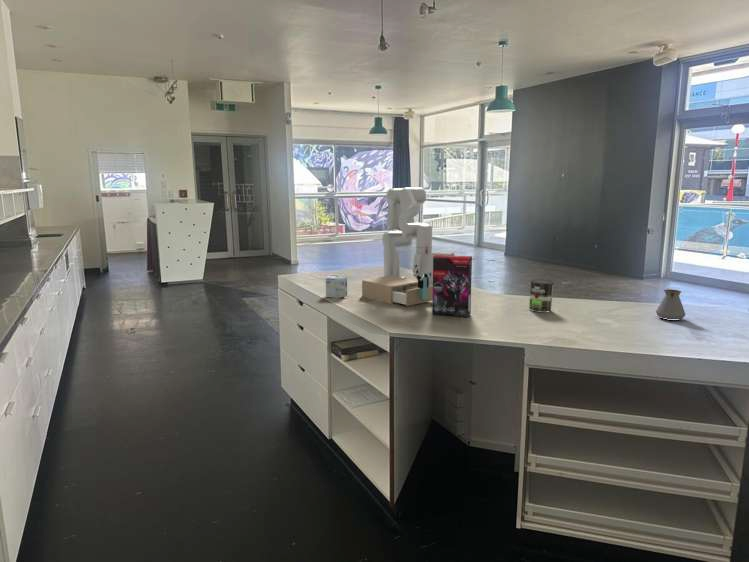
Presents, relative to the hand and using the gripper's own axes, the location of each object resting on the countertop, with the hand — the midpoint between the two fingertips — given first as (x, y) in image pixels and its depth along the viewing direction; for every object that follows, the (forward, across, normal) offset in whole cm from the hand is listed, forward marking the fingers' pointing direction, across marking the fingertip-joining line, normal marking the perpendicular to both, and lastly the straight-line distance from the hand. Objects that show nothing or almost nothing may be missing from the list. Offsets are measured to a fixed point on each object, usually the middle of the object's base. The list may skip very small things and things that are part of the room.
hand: (423, 287), depth 252 cm
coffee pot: (+9, -60, +92) cm, 110 cm away
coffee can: (+9, -35, +44) cm, 57 cm away
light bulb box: (+10, +20, -43) cm, 49 cm away
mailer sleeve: (+9, 0, -23) cm, 25 cm away
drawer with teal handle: (+8, 0, -11) cm, 14 cm away
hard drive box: (+10, -41, -25) cm, 49 cm away
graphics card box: (+10, +3, +21) cm, 23 cm away
